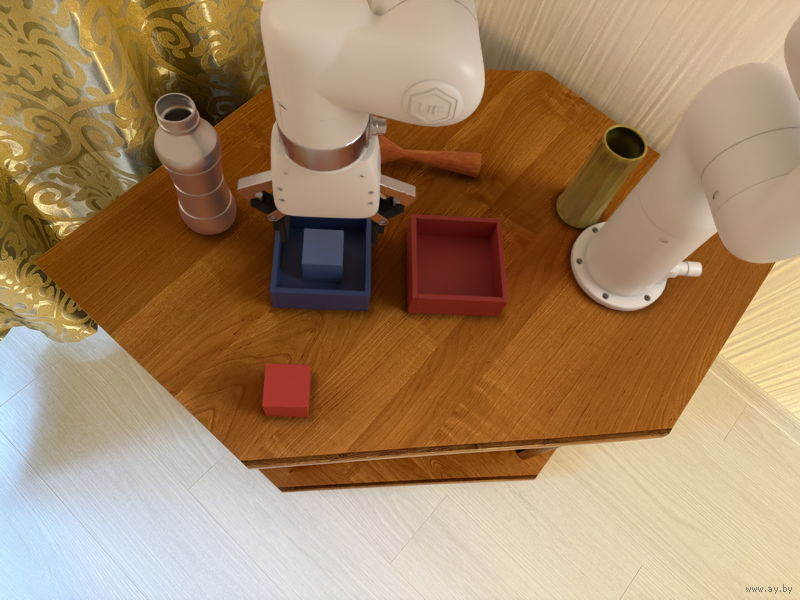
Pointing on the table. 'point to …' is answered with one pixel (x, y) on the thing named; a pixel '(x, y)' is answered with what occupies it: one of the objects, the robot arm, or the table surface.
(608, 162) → the vase
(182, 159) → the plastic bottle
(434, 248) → the red bin
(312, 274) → the blue block
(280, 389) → the red block
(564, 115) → the table surface
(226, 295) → the table surface
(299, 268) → the blue bin
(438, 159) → the kendama
